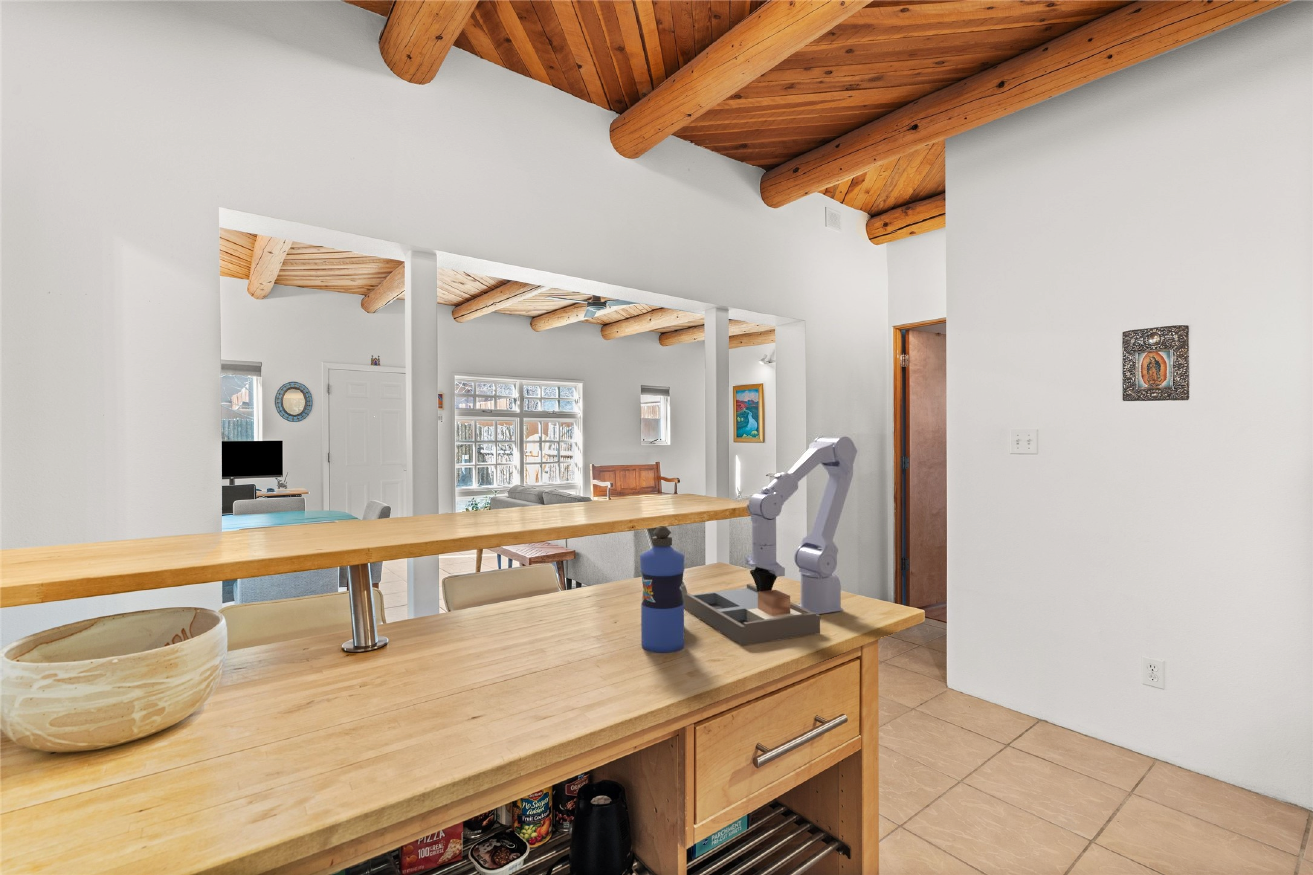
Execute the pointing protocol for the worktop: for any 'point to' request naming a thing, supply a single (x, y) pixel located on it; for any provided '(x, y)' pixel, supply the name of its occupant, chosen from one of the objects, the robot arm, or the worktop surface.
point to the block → (774, 602)
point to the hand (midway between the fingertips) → (764, 599)
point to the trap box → (749, 616)
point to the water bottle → (662, 595)
